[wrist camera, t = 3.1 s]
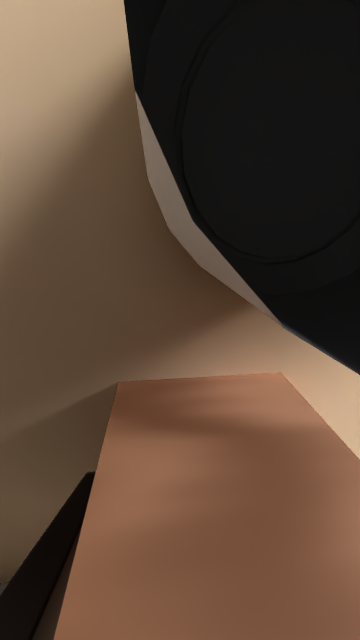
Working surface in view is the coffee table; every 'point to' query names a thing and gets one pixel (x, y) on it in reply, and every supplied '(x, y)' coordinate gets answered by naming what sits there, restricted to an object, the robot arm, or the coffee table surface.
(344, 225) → the can
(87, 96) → the coffee table surface
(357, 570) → the terracotta cube
